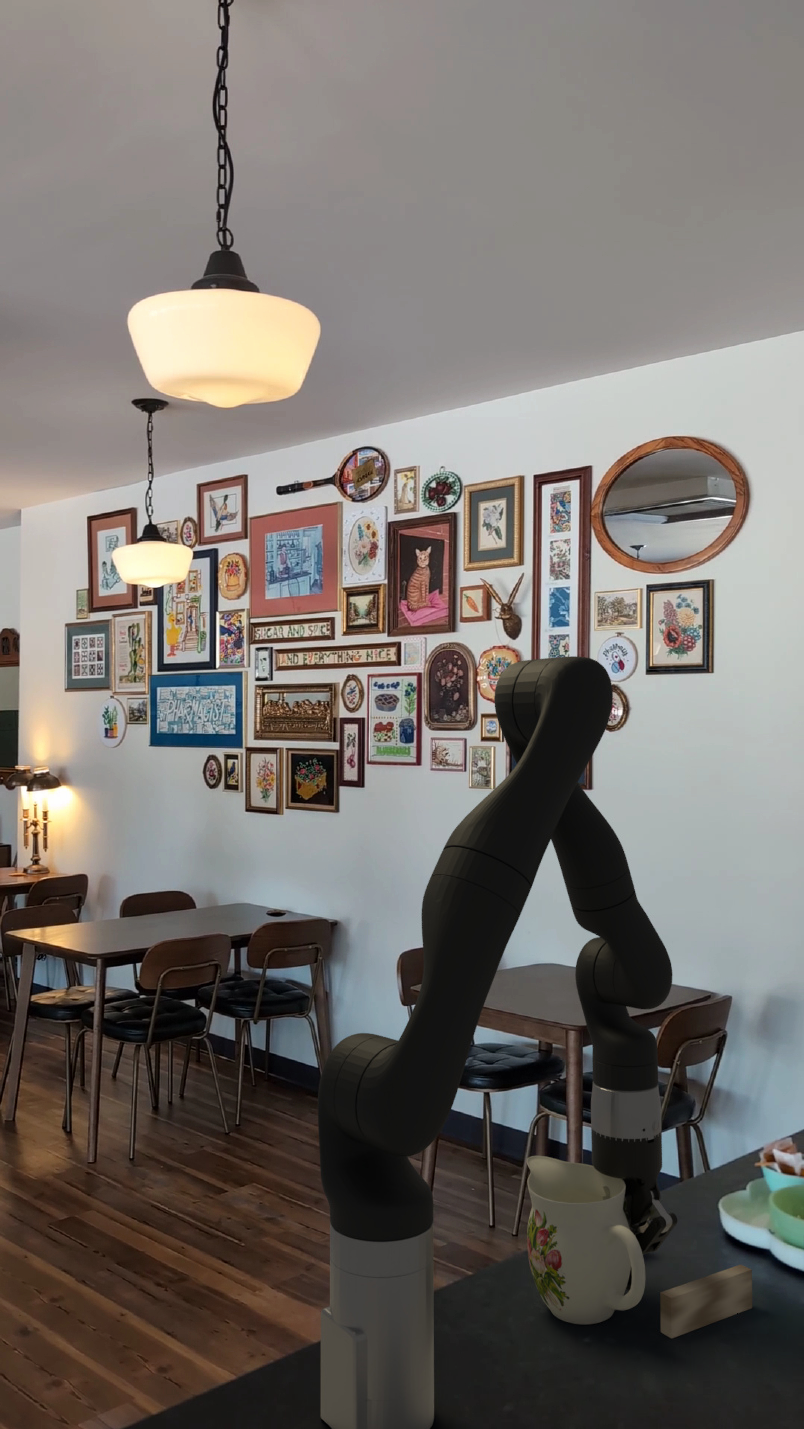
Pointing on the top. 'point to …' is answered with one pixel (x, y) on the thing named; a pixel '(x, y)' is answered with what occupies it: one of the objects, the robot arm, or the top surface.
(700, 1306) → the oak rails
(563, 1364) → the top surface
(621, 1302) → the pitcher
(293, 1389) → the top surface
